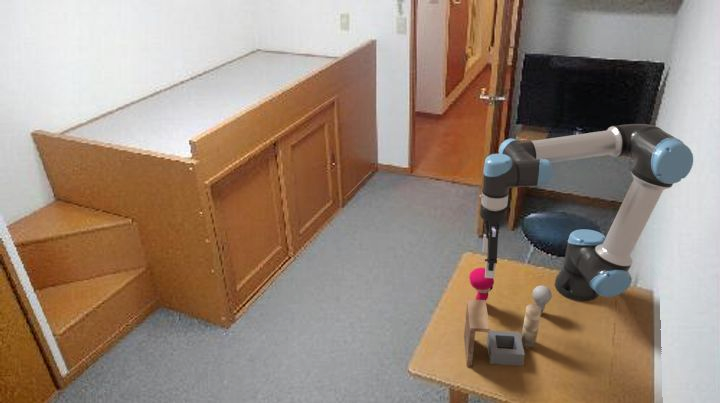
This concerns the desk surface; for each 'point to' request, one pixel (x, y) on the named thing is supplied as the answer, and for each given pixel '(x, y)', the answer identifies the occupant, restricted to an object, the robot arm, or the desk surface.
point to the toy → (481, 283)
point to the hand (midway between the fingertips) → (488, 264)
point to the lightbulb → (541, 296)
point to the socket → (505, 355)
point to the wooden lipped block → (474, 325)
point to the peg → (530, 325)
